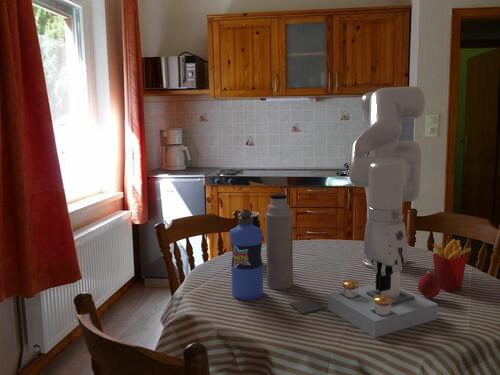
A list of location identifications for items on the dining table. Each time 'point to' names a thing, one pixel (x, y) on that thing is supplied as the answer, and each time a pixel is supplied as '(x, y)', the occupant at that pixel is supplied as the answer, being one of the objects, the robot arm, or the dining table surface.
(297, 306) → the pad
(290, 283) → the thermos bottle
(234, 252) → the water bottle
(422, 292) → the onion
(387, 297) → the plunger
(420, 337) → the dining table surface
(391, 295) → the cartridge
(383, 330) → the housing
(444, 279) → the french fries
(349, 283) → the plunger
